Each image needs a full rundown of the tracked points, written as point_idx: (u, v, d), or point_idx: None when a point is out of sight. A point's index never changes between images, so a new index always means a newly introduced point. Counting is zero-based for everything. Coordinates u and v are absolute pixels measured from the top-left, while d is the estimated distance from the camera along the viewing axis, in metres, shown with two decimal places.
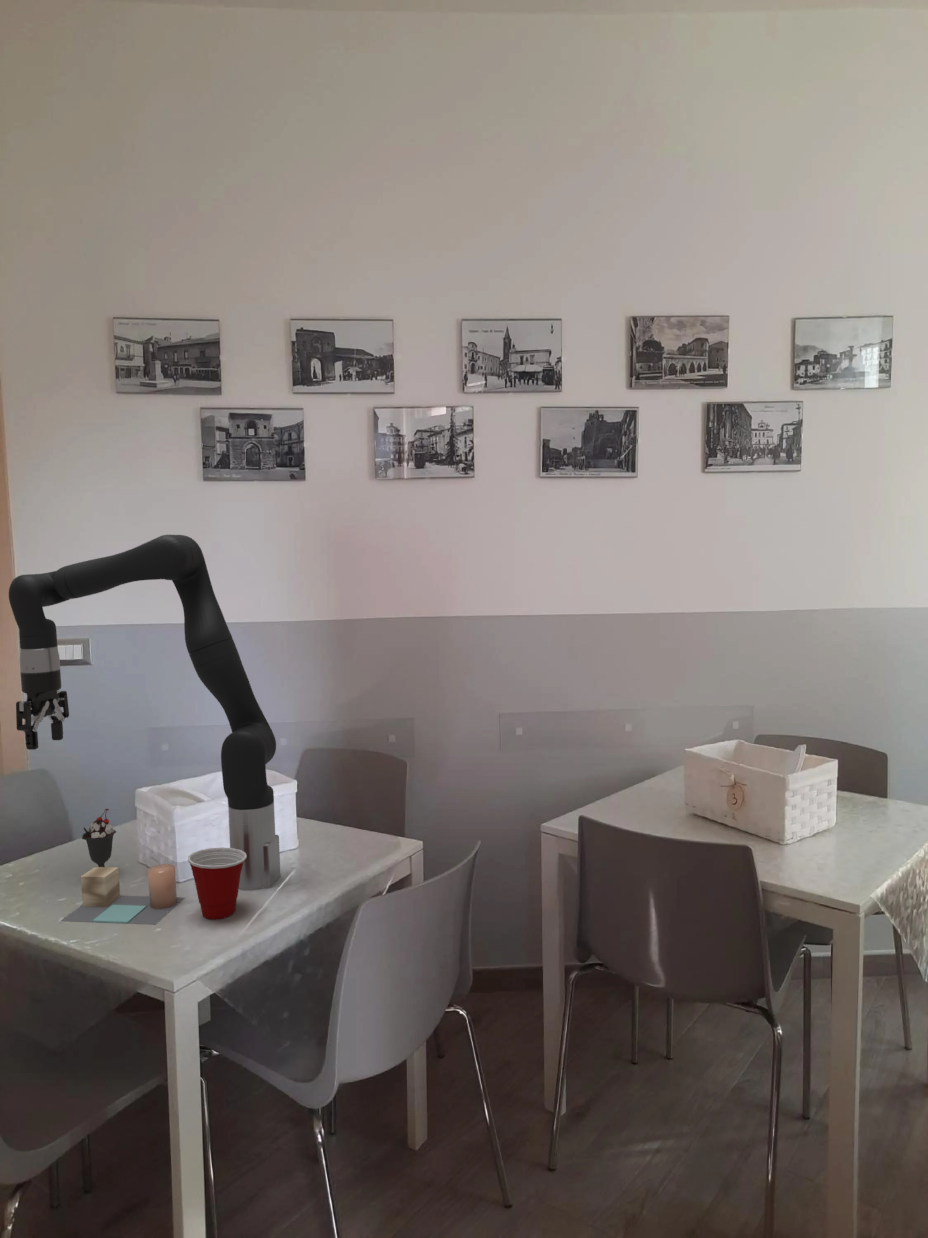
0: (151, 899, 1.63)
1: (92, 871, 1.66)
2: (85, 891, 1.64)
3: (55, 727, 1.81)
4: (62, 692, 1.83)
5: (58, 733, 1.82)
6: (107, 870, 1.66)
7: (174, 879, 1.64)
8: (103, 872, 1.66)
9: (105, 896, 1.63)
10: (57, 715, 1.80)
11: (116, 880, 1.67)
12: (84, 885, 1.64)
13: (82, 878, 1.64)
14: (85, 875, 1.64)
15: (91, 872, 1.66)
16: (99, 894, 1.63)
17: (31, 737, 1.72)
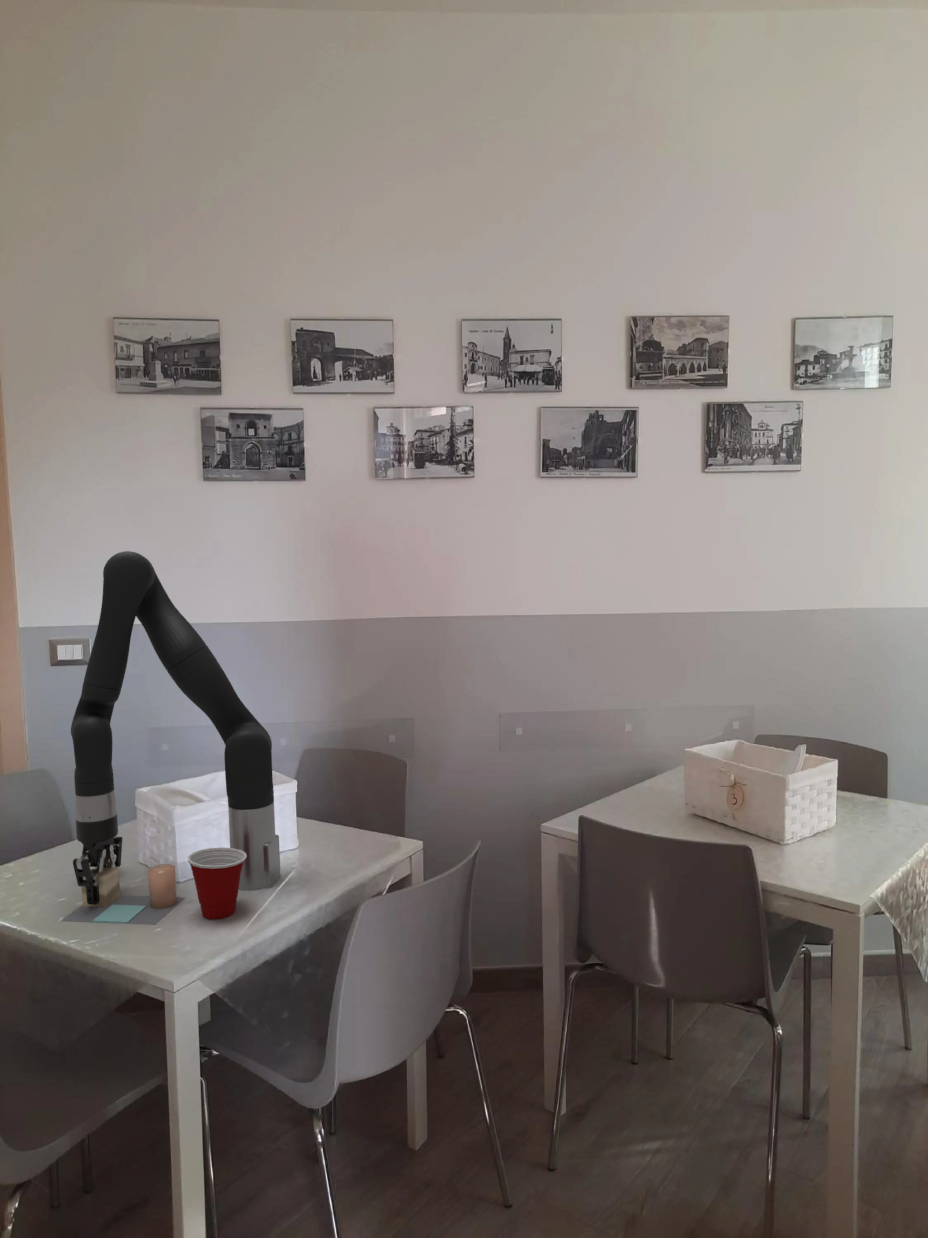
0: (151, 899, 1.63)
1: None
2: (85, 891, 1.64)
3: None
4: (118, 838, 1.71)
5: None
6: (107, 870, 1.66)
7: (174, 879, 1.64)
8: (103, 872, 1.66)
9: (105, 896, 1.63)
10: (110, 864, 1.68)
11: (116, 880, 1.67)
12: None
13: None
14: None
15: None
16: (99, 894, 1.63)
17: (92, 892, 1.62)
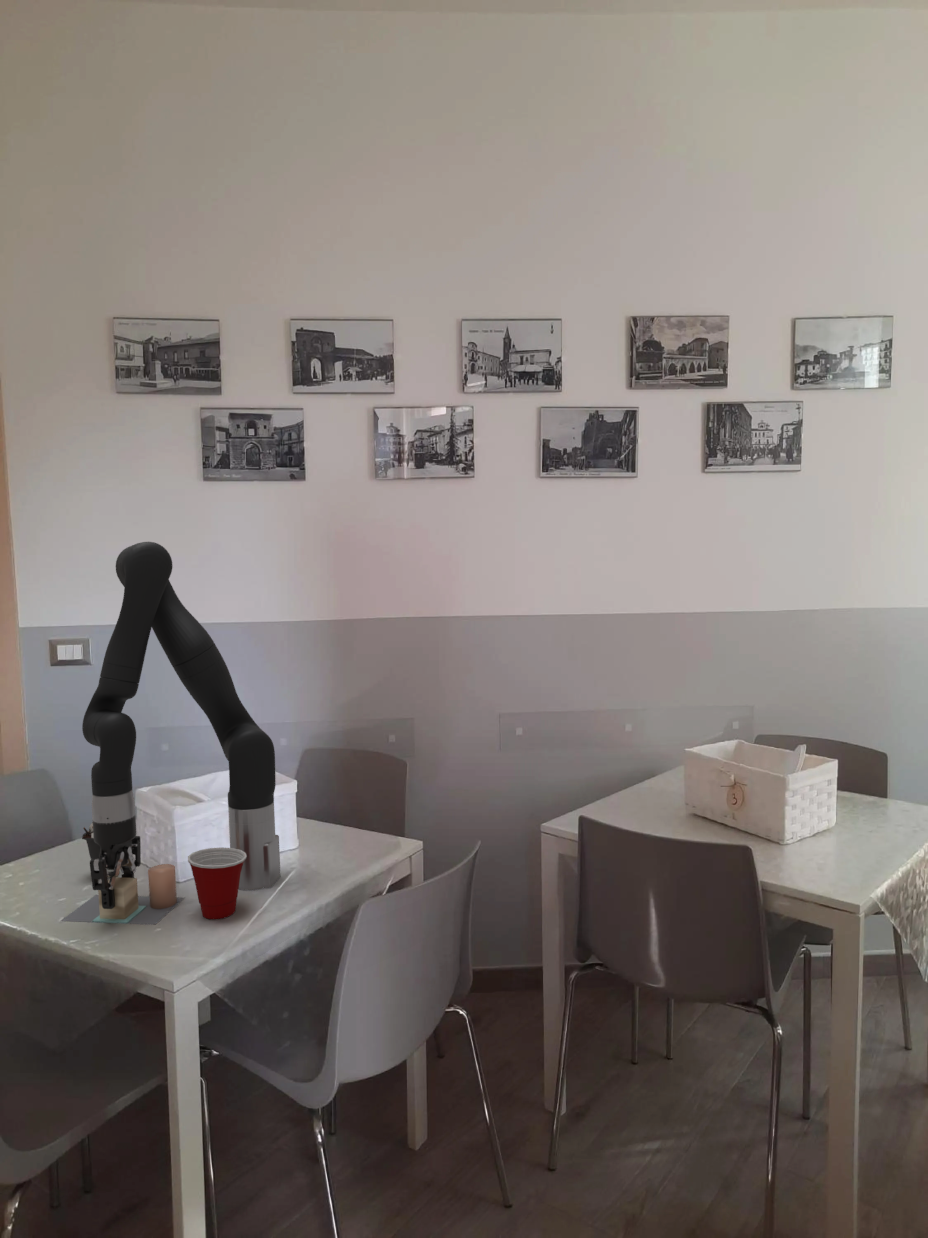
0: (151, 899, 1.63)
1: None
2: None
3: None
4: (135, 837, 1.64)
5: None
6: (125, 881, 1.60)
7: (174, 879, 1.64)
8: (121, 883, 1.59)
9: (124, 908, 1.57)
10: (129, 865, 1.62)
11: (134, 891, 1.61)
12: None
13: None
14: None
15: None
16: (117, 906, 1.57)
17: (108, 896, 1.55)
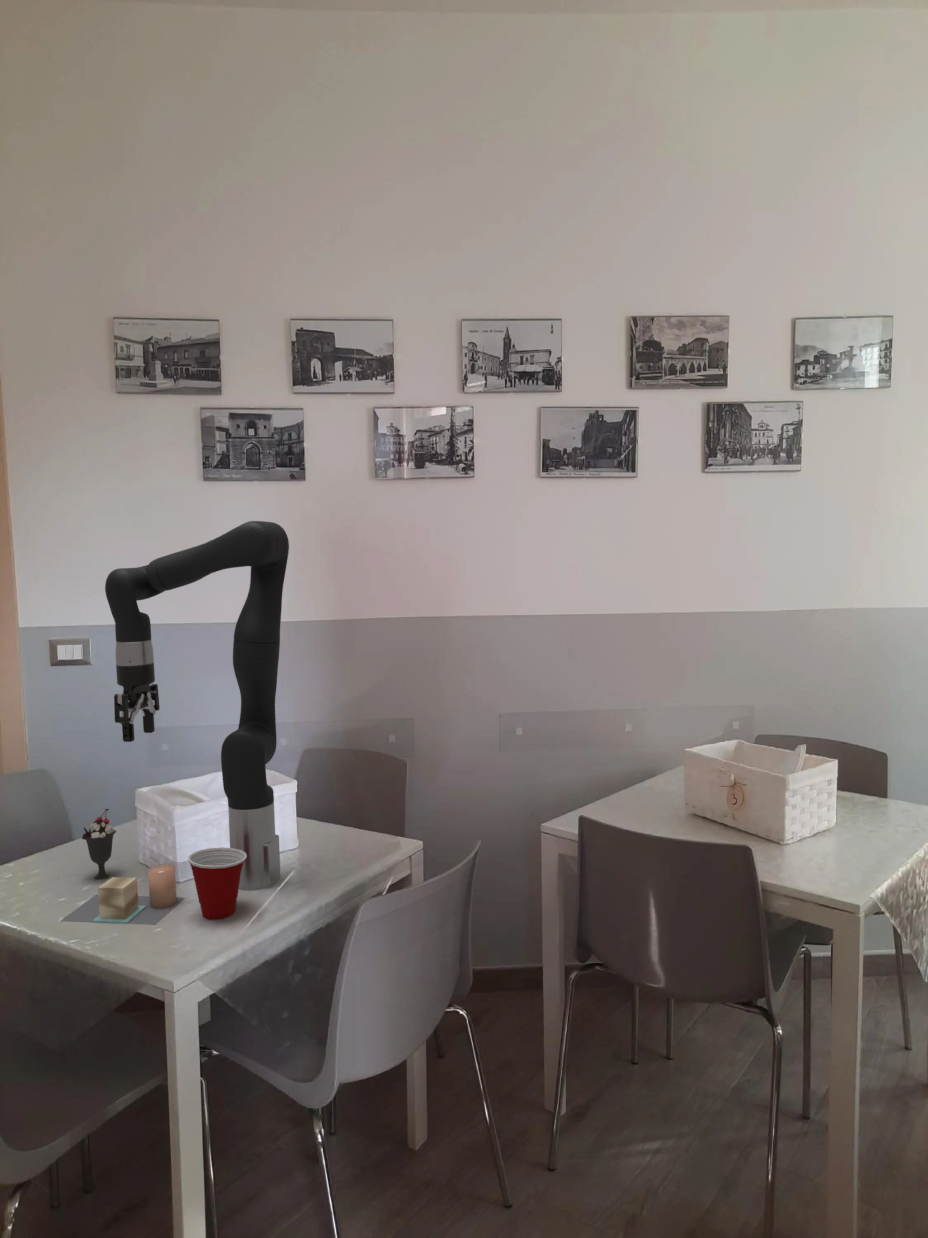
0: (151, 899, 1.63)
1: (110, 882, 1.60)
2: (102, 903, 1.57)
3: (147, 720, 1.83)
4: (153, 685, 1.84)
5: (150, 726, 1.83)
6: (125, 881, 1.60)
7: (174, 879, 1.64)
8: (121, 883, 1.59)
9: (124, 908, 1.57)
10: (149, 708, 1.82)
11: (134, 891, 1.61)
12: (101, 896, 1.57)
13: (99, 889, 1.57)
14: (102, 886, 1.58)
15: (109, 883, 1.59)
16: (117, 906, 1.57)
17: (128, 729, 1.74)
